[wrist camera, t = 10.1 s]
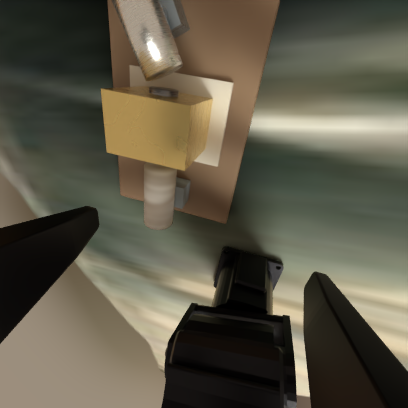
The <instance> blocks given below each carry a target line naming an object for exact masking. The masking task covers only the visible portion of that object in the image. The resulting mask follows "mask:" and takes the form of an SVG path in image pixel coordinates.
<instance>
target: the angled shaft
mask: <svg viewBox="0 0 408 408" xmlns="http://www.w3.org/2000/svg"><path fill="white" fill-rule="evenodd" d="M112 3H113V5H114V7H115V10H116V12H117V14H118V17H119V19H120V21H121V24H122V26H123V28H124V31H125V33H126V35H127V38H128V40H129V42H130V45H131V47H132V49H133V52H134V54H135V56H136V59H137V61H138V63H139V66H140V68H141V70H142V73H143V75H144V77H145V80H146V81H153V80H157V79H160V78H163V77H165V76H167V75H169V74H171V73H173V72H175V71H177V70H178V69H180V68H181V67H182V66H183V63H182V60H181V58H180V55H179V52H178V49H177V46H176V44H175V41H174V39H175V38H177V37H178V36H180V35H182V34H183V33H185V32H187V31H188V30H190V27H189V24H188V21H187V18H186V15H185V12H184V9H183V6H182V3H181V0H112Z"/></svg>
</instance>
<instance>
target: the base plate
mask: <svg viewBox="0 0 408 408" xmlns="http://www.w3.org/2000/svg"><path fill="white" fill-rule="evenodd" d="M181 3H182V6H183V9H184V12H185V15H186V18H187V21H188V24H189V27H190V30H188V31H187V32H185V33H183V34H182V35H180V36H178V37H177V38H175V39H174V41H175V44H176V46H177V49H178V52H179V55H180V58H181V60H182V63H183V66H182V67H181V68H180V69H178V70H177V71H175V72H173V73H171V74H169V75H167V76H165V77H163V78H160V79H157V80H153V81H146V80H145V77H144V75H143V73H142V70H141V68H140V66H139V63H138V61H137V59H136V56H135V54H134V52H133V49H132V47H131V45H130V42H129V40H128V38H127V35H126V33H125V31H124V28H123V26H122V24H121V21H120V19H119V17H118V14H117V12H116V10H115V7H114V5H113V3H112V0H108V14H109V29H110V44H111V59H112V74H113V88H122V87H139V86H147V87H150V86H155V87H164V88H171V89H175V90H178V91H179V92H180V93H185V94H191V95H196V96H202V97H207V98H213V102H212V109H211V116H210V123H209V130H208V136H207V143H206V149H205V150H204V151H203V152H202V153H201V154H200V155H199V156H198V157H197V158H196V159H195V161H194V162H193V163H192V164H191V165H190V166H189V167H188V168H187V169H186V170H185V171H183V170H179V169H175V168H170V167H166V166H162V165H158V164H154V163H149V162H145V161H141V160H137V159H133V158H129V157H124V156H120V155H118V163H119V178H120V193H121V195H122V196H125V197H129V198H133V199H136V200H140V201H144V223H145V225H146V226H147V227H149V228H151V229H155V230H163V229H166V228H168V227H170V226H171V225H172V223H173V212H174V210H177V211H180V212H184V213H188V214H192V215H195V216H199V217H203V218H206V219H210V220H214V221H217V222H221V223H225V224H226V222H227V219H228V215H229V211H230V207H231V203H232V199H233V195H234V191H235V186H236V182H237V178H238V174H239V170H240V166H241V161H242V157H243V153H244V149H245V145H246V141H247V137H248V132H249V128H250V124H251V120H252V116H253V112H254V107H255V103H256V99H257V95H258V91H259V87H260V83H261V78H262V74H263V70H264V66H265V62H266V58H267V54H268V49H269V45H270V41H271V37H272V33H273V29H274V24H275V20H276V16H277V12H278V8H279V4H280V0H181Z"/></svg>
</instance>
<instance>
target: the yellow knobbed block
mask: <svg viewBox="0 0 408 408" xmlns="http://www.w3.org/2000/svg"><path fill="white" fill-rule="evenodd" d="M101 96H102V106H103V117H104V127H105V137H106V148H107V152H108V153H112V154H116V155H120V156H124V157H129V158H133V159H137V160H141V161H145V162H149V163H154V164H158V165H162V166H166V167H170V168H175V169H179V170H183V171H185V170H186V169H187V168H188V167H189V166H190V165H191V164H192V163H193V162H194V161H195V159H196V158H197V157H198V156H199V155H200V154H201V153H202V152H203V151H204V150H205V149H206V143H207V136H208V130H209V123H210V116H211V109H212V102H213V98H207V97H202V96H196V95H191V94H185V93H180V92H179V91H178V90H175V89H171V88H164V87H155V86H150V87H147V86H139V87H122V88H104V89H101Z"/></svg>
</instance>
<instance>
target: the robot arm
mask: <svg viewBox="0 0 408 408" xmlns="http://www.w3.org/2000/svg"><path fill="white" fill-rule="evenodd" d="M98 227H99V218H98V211H97V209H96V208H93V207H90V206H84V207H81V208H77V209H73V210H69V211H65V212H61V213H57V214H53V215H50V216H46V217H42V218H38V219H34V220H30V221H26V222H22V223H19V224H15V225H11V226H7V227H3V228H0V344H1V342H2V341H3V340H4V339H5V338H6V337H7V336H8V334H9V333H10V332H11V331H12V330H13V329H14V328H15V327H16V326H17V324H18V323H19V322H20V321H21V320H22V319H23V318H24V316H25V315H26V314H27V313H28V312H29V311H30V310H31V309H32V308H33V306H34V305H35V304H36V303H37V302H38V301H39V300H40V299H41V297H42V296H43V295H44V294H45V293H46V292H47V291H48V290H49V288H50V287H51V286H52V285H53V284H54V283H55V282H56V280H57V279H58V278H59V277H60V276H61V275H62V274H63V273H64V272H65V270H66V269H67V268H68V267H69V266H70V265H71V264H72V263H73V261H74V260H75V259H76V258H77V257H78V255H79V254H80V253H81V251H82V250H83V249H84V247H85V246H86V245H87V243H88V242H89V240H90V239H91V238H92V236H93V235H94V233H95V232H96V231H97V229H98ZM226 251H228V252H226ZM277 266H280V267H277ZM282 271H283V263H282V262H279V261H276V260H272V259H269V258H265V257H262V256H258V255H255V254H251V253H248V252H244V251H241V250H237V249H234V248H231V247H224V248H223V250H222V254H221V258H220V262H219V266H218V270H217V274H216V278H215V282H214V287H215V288H216V291H215V295H214V299H213V302H212V306H204V305H198V304H197V303H191V305H190V307H189V308H188V310H187V311H186V313H185V315H184V316H183V318H182V320H181V321H180V323H179V324H178V326H177V328H176V329H175V331H174V333H173V334H172V336H171V338H170V339H169V341H168V347H167V349H166V352H165V356H166V359H165V378H166V384H165V390H164V397H163V403H162V407H161V408H297V405H296V403H297V399H296V374H295V360H294V351H293V342H292V334H291V325H290V316H287V315H283V316H278V315H273V290H274V288H275V286H276V284H277V281H278V279H279V277H280V275H281V273H282ZM304 342H305V351H306V361H307V371H308V380H309V390H310V399H311V408H408V371H407V370H406V369H405V367H404V366H403V365H402V364H401V363H400V362H399V360H398V359H397V358H396V357H395V356H394V354H393V353H392V352H391V351H390V350H389V348H388V347H387V346H386V345H385V344H384V342H383V341H382V340H381V339H380V338H379V337H378V335H377V334H376V333H375V332H374V331H373V329H372V328H371V327H370V326H369V325H368V323H367V322H366V321H365V320H364V319H363V317H362V316H361V315H360V314H359V313H358V312H357V310H356V309H355V308H354V307H353V306H352V304H351V303H350V302H349V301H348V300H347V298H346V297H345V296H344V295H343V294H342V292H341V291H340V290H339V289H338V288H337V287H336V285H335V284H334V283H333V282H332V281H331V279H330V278H329V277H328V276H327V275H326V274H323V273H319V272H314V273H313V274H312V275H311V277H310V278H309V280H308V282H307V284H306V285H305V288H304Z"/></svg>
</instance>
